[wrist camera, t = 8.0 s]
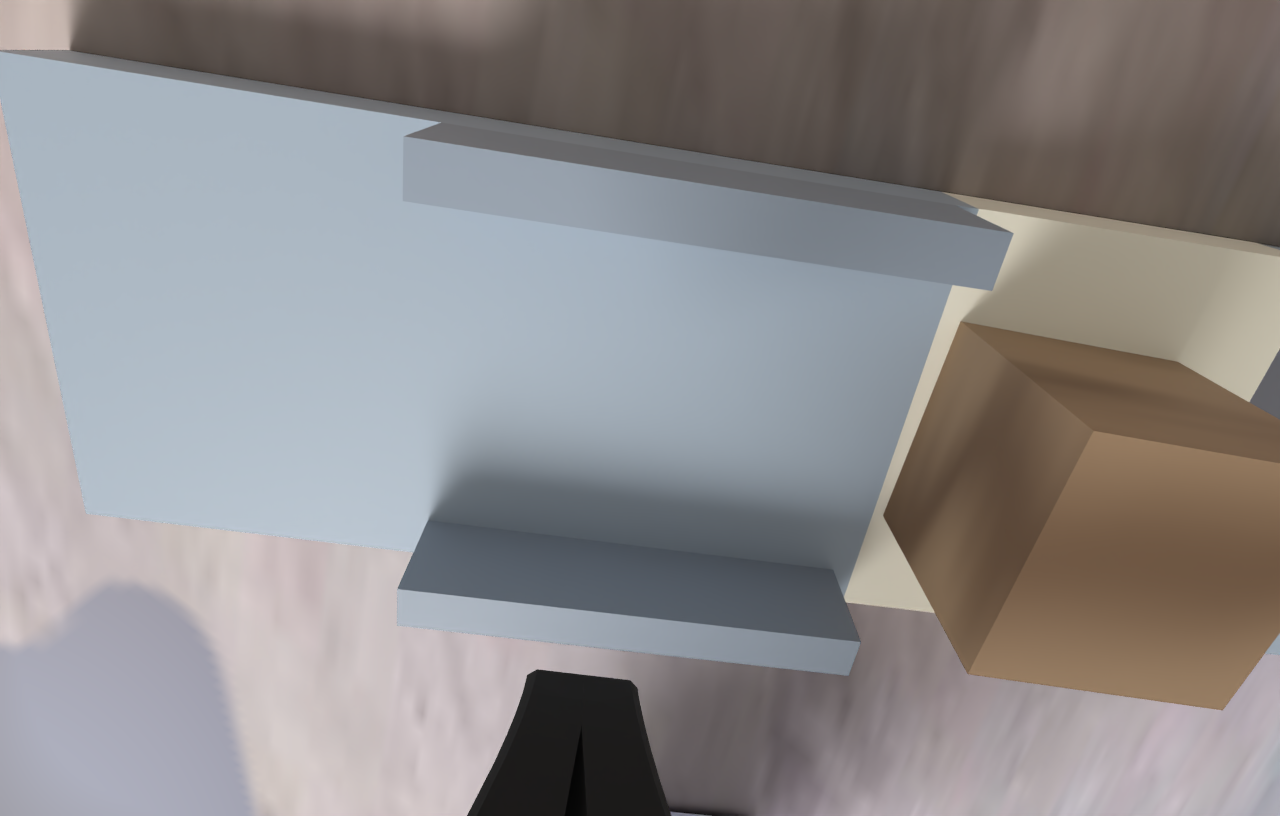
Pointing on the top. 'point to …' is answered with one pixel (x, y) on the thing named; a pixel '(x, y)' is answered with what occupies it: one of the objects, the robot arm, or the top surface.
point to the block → (1093, 519)
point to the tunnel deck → (548, 347)
